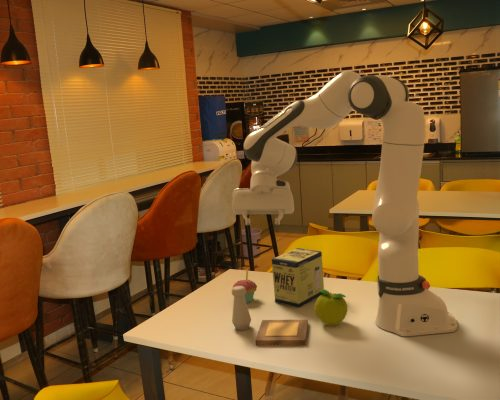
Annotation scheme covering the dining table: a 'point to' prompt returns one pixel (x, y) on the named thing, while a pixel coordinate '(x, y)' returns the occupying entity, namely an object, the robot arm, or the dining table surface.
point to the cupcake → (247, 287)
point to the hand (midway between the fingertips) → (262, 224)
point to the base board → (282, 332)
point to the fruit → (331, 308)
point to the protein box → (297, 277)
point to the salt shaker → (240, 309)
